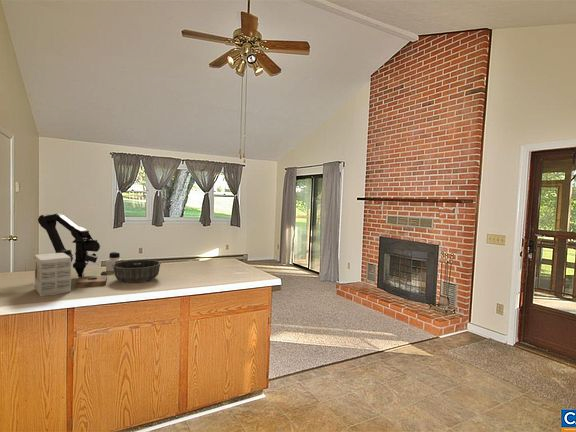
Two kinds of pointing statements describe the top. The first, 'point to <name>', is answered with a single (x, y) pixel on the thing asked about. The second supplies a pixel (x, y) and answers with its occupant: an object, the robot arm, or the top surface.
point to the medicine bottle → (112, 261)
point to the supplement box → (52, 273)
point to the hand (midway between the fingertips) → (81, 276)
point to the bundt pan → (136, 270)
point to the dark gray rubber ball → (103, 273)
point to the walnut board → (91, 281)
